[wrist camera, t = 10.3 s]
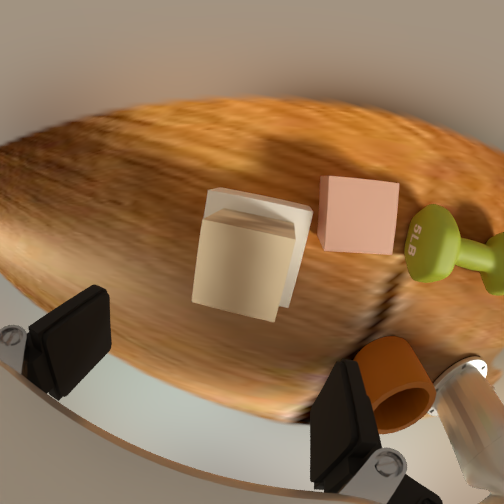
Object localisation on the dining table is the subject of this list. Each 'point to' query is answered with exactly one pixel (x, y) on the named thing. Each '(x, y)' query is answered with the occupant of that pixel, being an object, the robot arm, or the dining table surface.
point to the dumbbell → (450, 250)
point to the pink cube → (357, 215)
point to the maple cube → (243, 263)
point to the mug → (395, 383)
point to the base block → (271, 209)
